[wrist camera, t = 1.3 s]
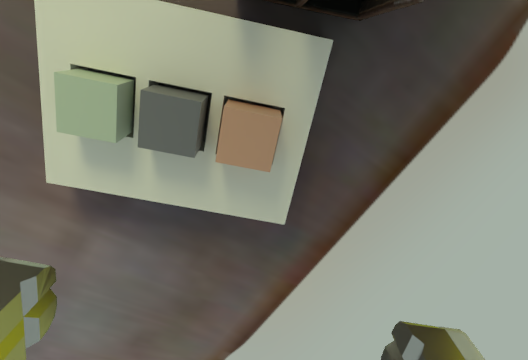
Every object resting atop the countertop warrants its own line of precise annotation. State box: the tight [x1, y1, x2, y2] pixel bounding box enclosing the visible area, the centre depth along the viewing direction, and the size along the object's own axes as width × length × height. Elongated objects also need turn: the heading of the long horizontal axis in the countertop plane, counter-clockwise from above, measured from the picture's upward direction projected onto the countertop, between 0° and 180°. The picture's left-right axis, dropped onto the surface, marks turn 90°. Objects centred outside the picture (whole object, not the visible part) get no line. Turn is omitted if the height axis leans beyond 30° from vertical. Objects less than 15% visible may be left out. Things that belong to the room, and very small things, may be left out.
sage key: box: [54, 68, 134, 143], centre depth 23 cm, size 4×4×3 cm
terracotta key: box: [215, 99, 282, 172], centre depth 24 cm, size 4×4×3 cm
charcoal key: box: [138, 84, 209, 158], centre depth 23 cm, size 4×4×3 cm
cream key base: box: [34, 0, 333, 225], centre depth 26 cm, size 15×20×4 cm
